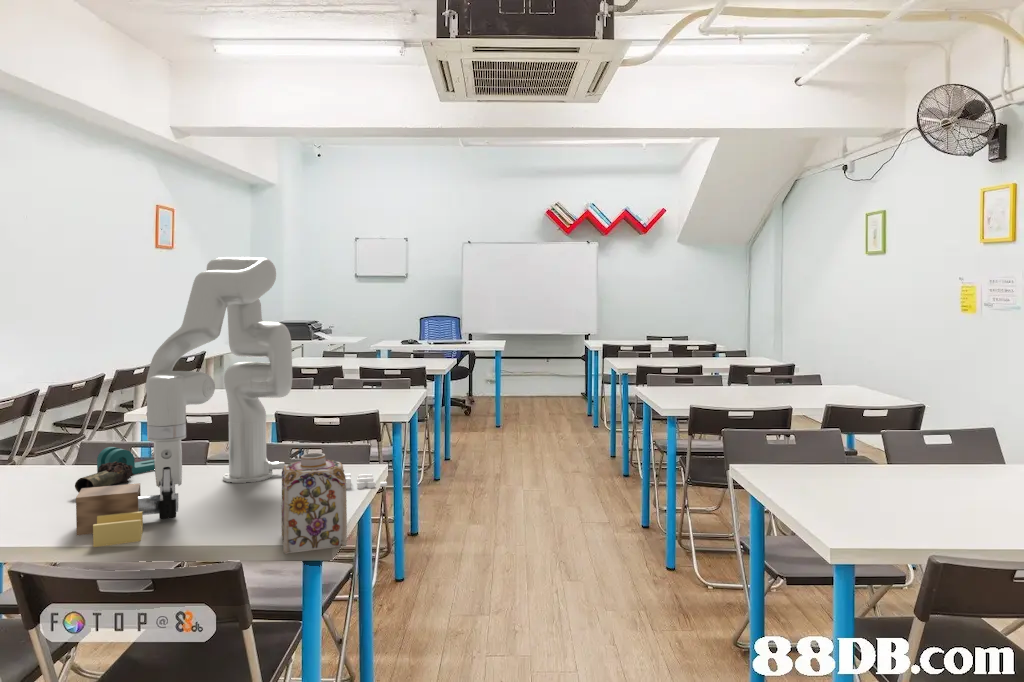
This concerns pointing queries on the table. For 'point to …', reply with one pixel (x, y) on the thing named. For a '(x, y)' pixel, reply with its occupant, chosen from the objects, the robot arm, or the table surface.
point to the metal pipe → (106, 476)
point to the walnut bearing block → (104, 504)
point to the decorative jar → (313, 504)
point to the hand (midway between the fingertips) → (168, 514)
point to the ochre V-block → (118, 529)
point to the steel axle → (152, 504)
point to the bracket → (123, 459)
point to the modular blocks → (363, 481)
